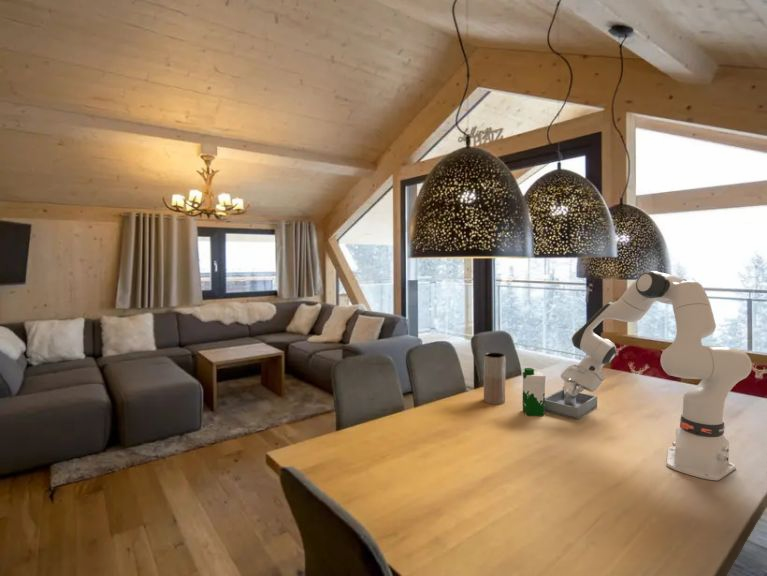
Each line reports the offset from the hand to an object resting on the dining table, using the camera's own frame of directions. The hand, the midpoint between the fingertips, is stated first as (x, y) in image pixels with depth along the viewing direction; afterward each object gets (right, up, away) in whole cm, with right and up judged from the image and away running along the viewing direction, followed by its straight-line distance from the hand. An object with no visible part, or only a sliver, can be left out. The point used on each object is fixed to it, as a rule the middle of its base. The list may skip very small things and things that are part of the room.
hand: (568, 391), depth 197 cm
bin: (+1, -8, +1) cm, 8 cm away
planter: (-31, -8, +12) cm, 34 cm away
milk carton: (-18, -9, -4) cm, 20 cm away
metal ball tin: (+1, -6, +1) cm, 6 cm away
